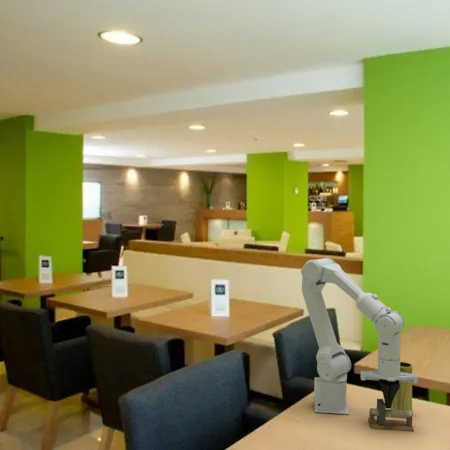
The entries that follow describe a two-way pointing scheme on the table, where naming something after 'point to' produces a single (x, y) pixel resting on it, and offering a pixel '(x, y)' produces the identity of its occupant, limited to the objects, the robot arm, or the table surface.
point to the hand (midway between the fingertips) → (388, 407)
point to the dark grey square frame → (381, 411)
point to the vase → (404, 391)
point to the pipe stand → (391, 423)
